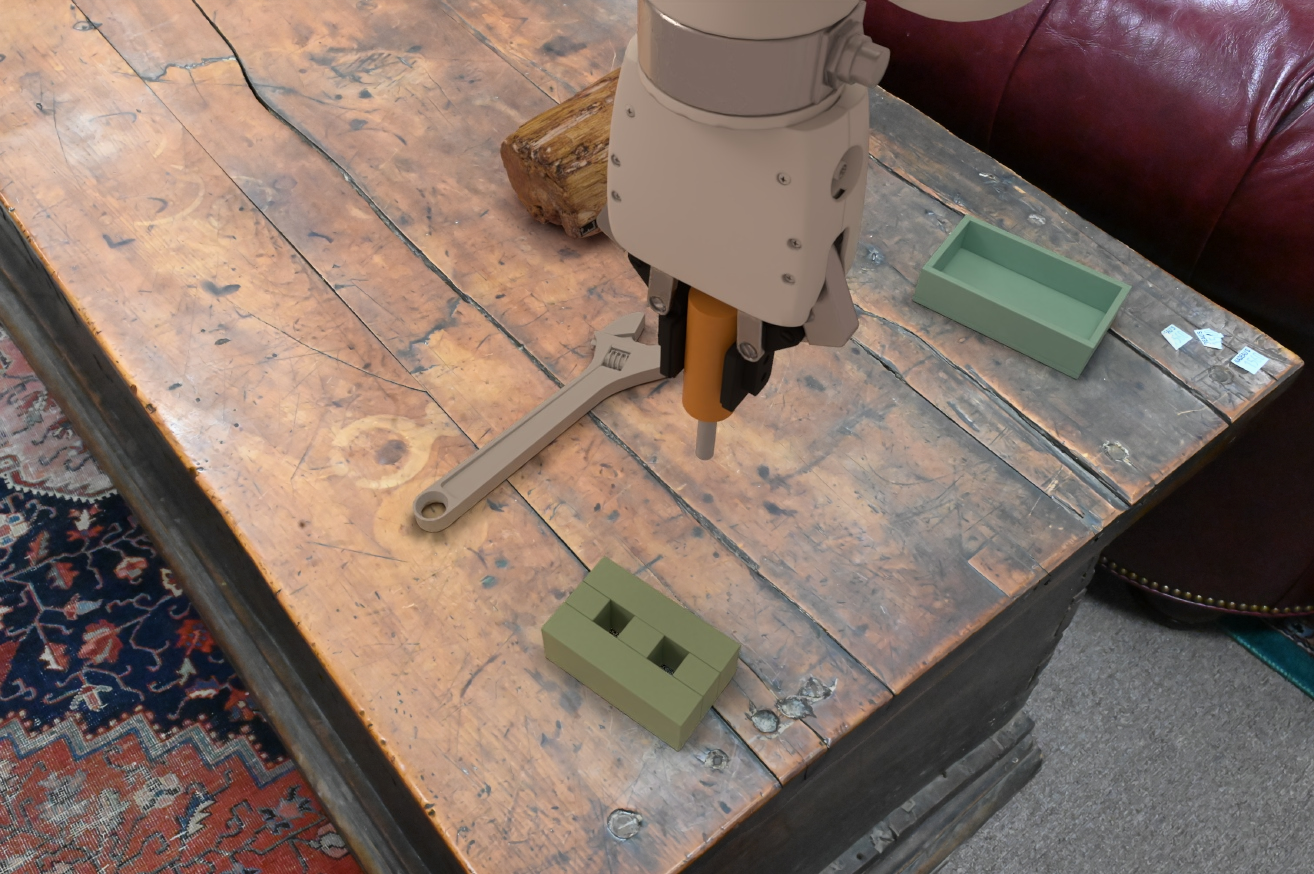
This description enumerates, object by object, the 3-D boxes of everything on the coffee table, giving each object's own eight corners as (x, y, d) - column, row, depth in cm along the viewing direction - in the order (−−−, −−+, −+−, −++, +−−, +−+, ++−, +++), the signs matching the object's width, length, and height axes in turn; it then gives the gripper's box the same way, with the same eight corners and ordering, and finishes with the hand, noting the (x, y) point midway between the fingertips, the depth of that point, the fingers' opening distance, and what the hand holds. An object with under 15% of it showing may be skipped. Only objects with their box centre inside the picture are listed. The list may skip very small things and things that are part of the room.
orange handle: (740, 448, 55) (762, 291, 46) (712, 483, 54) (729, 327, 44) (697, 425, 56) (710, 265, 47) (668, 458, 55) (676, 300, 45)
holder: (605, 586, 66) (604, 555, 63) (735, 672, 63) (741, 644, 60) (544, 656, 63) (540, 627, 60) (678, 752, 60) (681, 726, 56)
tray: (955, 246, 87) (966, 213, 84) (1115, 318, 82) (1132, 286, 79) (911, 300, 83) (921, 268, 80) (1076, 380, 78) (1093, 348, 75)
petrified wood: (586, 272, 83) (560, 164, 76) (499, 219, 91) (468, 117, 84) (754, 168, 91) (744, 61, 84) (659, 128, 99) (643, 27, 92)
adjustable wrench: (432, 541, 68) (427, 527, 67) (379, 483, 71) (374, 468, 70) (700, 356, 78) (701, 341, 77) (645, 312, 81) (645, 296, 80)
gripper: (1006, 61, 34) (894, 402, 49) (620, -80, 40) (623, 265, 54) (907, 174, 31) (818, 508, 45) (495, 2, 36) (535, 349, 51)
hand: (712, 373), depth 50 cm, fingers closed on orange handle, 2 cm apart
